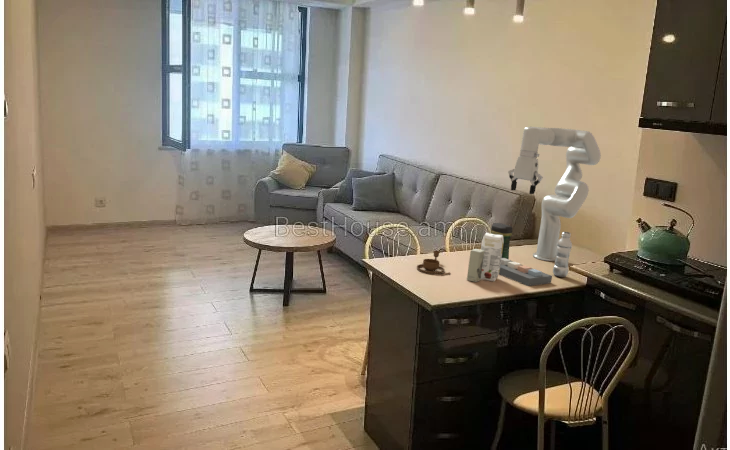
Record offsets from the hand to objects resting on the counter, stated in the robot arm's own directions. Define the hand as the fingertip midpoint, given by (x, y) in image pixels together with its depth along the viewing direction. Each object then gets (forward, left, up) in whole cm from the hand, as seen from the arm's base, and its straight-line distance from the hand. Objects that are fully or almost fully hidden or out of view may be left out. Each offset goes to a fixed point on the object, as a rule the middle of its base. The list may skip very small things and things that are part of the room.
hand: (522, 192), depth 291 cm
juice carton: (+30, +15, -34) cm, 48 cm away
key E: (+13, +25, -31) cm, 42 cm away
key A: (+13, +13, -31) cm, 36 cm away
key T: (+13, +19, -31) cm, 39 cm away
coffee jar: (+6, -4, -34) cm, 35 cm away
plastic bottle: (-7, +22, -34) cm, 42 cm away
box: (+38, +15, -34) cm, 53 cm away
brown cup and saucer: (+44, -3, -35) cm, 56 cm away
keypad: (+13, +16, -34) cm, 40 cm away
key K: (+13, +7, -31) cm, 35 cm away
